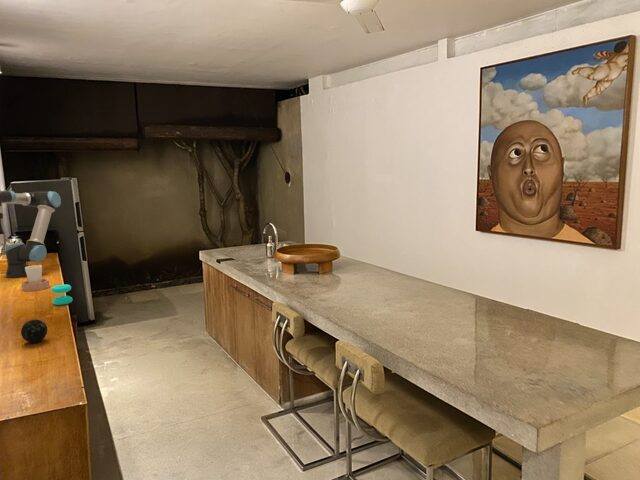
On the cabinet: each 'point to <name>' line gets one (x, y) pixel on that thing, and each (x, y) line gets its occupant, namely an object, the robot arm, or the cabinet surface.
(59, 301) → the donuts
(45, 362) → the cabinet surface
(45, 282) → the bowl
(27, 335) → the decorative stone
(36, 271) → the foam cup
